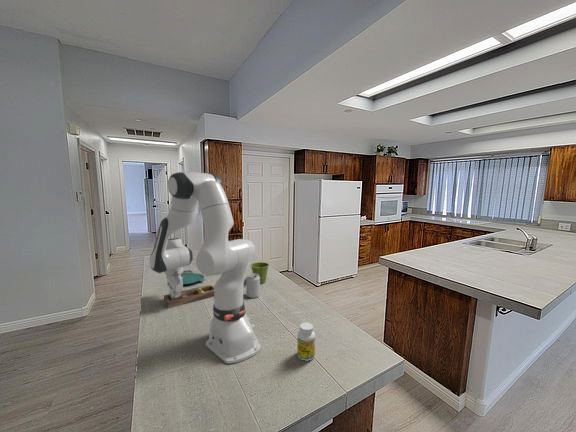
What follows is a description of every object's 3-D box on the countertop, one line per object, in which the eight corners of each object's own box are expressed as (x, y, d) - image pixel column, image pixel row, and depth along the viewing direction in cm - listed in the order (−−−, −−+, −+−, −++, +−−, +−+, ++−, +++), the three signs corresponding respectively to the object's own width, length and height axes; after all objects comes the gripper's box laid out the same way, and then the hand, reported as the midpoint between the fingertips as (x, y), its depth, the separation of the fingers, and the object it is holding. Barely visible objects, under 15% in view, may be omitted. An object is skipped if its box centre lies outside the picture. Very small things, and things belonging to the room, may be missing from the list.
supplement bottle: (316, 352, 90) (317, 323, 89) (312, 363, 84) (312, 332, 83) (300, 348, 92) (300, 319, 91) (294, 358, 86) (295, 328, 85)
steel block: (181, 302, 127) (180, 287, 126) (171, 304, 125) (170, 289, 124) (179, 298, 131) (178, 284, 130) (169, 301, 128) (169, 286, 127)
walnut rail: (219, 295, 136) (219, 290, 136) (168, 308, 121) (168, 302, 120) (212, 288, 145) (212, 283, 145) (163, 299, 129) (163, 294, 129)
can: (257, 299, 131) (257, 277, 130) (244, 297, 133) (244, 276, 132) (261, 293, 139) (261, 273, 137) (249, 292, 140) (249, 272, 139)
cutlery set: (173, 290, 142) (173, 286, 142) (165, 275, 167) (165, 272, 166) (208, 283, 153) (207, 279, 153) (195, 270, 178) (195, 267, 178)
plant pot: (270, 278, 161) (270, 262, 160) (267, 286, 149) (267, 268, 148) (253, 278, 162) (252, 261, 161) (248, 285, 150) (248, 267, 149)
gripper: (185, 273, 119) (186, 300, 121) (176, 263, 136) (177, 286, 137) (171, 276, 115) (173, 304, 117) (163, 265, 132) (164, 289, 133)
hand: (175, 294), depth 127 cm, fingers closed on steel block, 5 cm apart
